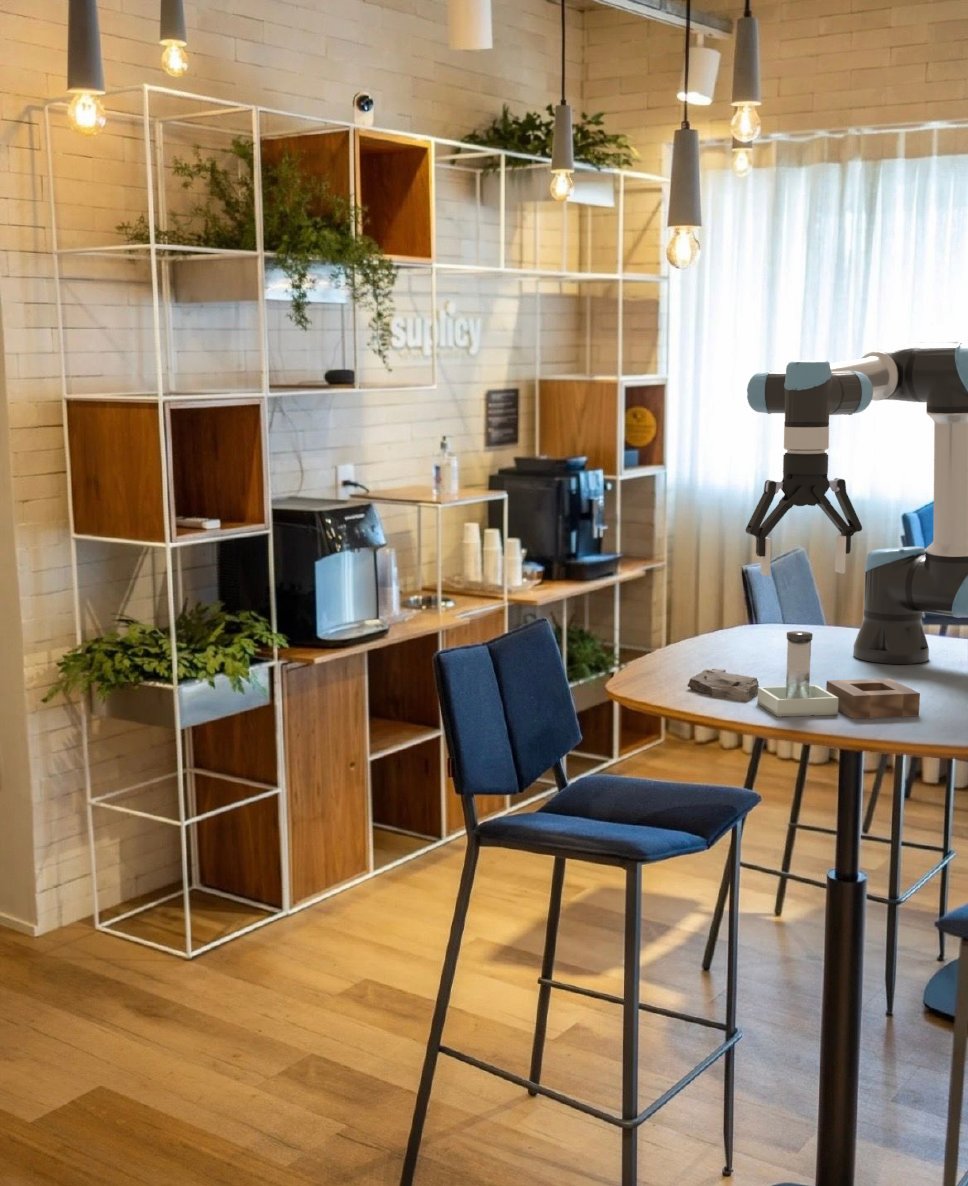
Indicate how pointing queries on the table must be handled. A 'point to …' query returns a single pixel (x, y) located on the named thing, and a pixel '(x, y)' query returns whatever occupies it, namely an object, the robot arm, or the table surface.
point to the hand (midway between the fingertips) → (802, 574)
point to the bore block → (874, 698)
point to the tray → (797, 702)
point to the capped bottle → (798, 664)
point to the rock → (725, 685)
